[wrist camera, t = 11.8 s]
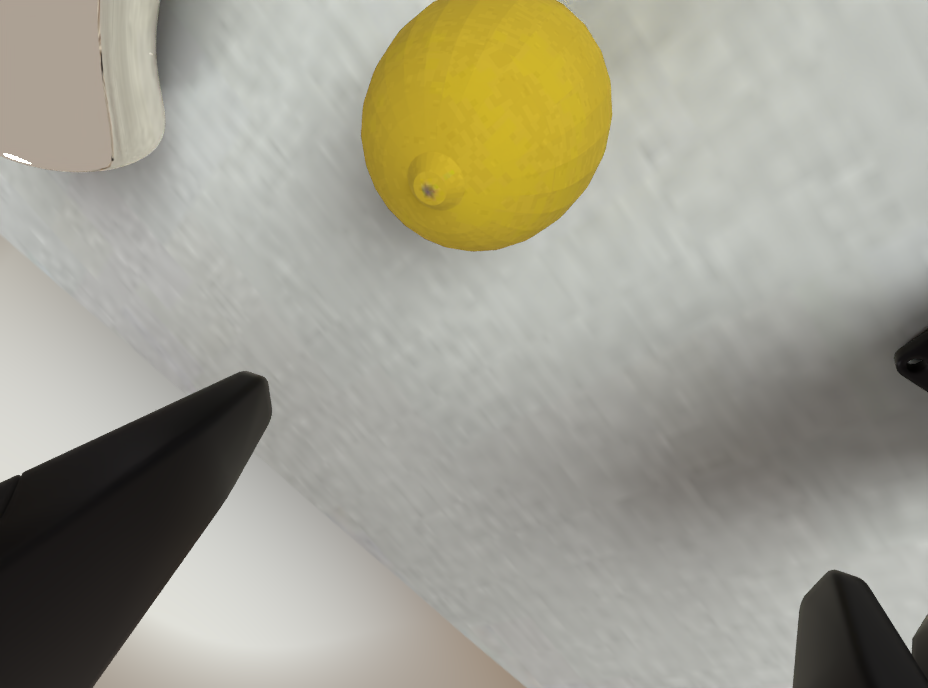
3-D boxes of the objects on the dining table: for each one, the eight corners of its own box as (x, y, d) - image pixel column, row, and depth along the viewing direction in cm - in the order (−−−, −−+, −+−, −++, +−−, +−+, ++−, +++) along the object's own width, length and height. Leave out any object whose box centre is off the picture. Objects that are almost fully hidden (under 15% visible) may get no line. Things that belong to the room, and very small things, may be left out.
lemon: (405, 41, 18) (247, 136, 12) (566, -92, 15) (455, -48, 9) (506, 197, 20) (411, 343, 14) (668, 109, 17) (630, 251, 11)
